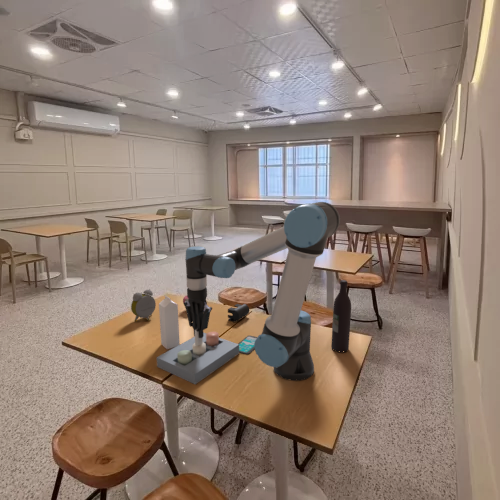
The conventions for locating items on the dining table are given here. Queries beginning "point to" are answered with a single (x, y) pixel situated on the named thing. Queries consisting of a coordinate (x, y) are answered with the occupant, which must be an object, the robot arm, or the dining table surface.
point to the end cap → (238, 312)
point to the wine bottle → (341, 319)
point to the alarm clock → (143, 304)
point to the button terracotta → (212, 338)
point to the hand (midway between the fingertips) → (198, 344)
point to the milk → (169, 323)
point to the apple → (185, 299)
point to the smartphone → (247, 345)
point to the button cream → (199, 349)
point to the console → (198, 359)
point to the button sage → (184, 357)
